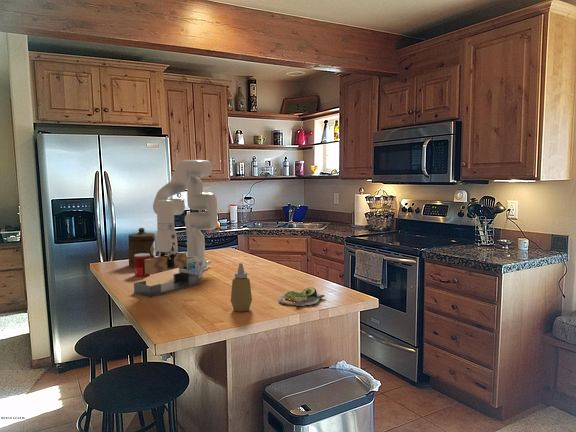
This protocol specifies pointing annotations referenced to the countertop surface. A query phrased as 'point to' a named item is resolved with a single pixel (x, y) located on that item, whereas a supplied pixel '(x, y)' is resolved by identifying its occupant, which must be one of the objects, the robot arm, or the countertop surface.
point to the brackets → (167, 285)
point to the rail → (164, 263)
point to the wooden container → (141, 245)
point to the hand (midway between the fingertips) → (166, 266)
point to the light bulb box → (193, 266)
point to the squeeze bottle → (241, 291)
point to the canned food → (140, 264)
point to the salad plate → (301, 297)
